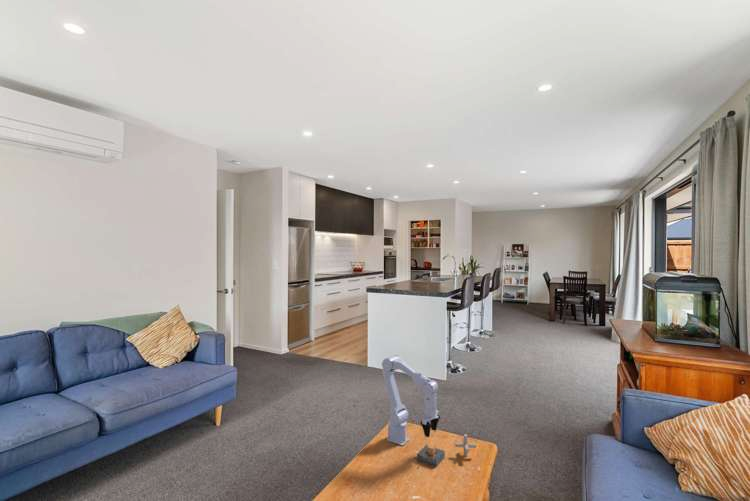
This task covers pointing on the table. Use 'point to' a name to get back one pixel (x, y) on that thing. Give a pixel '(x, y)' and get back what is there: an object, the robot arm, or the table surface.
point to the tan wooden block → (431, 450)
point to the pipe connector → (465, 445)
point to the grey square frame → (430, 457)
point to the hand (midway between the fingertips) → (430, 433)
